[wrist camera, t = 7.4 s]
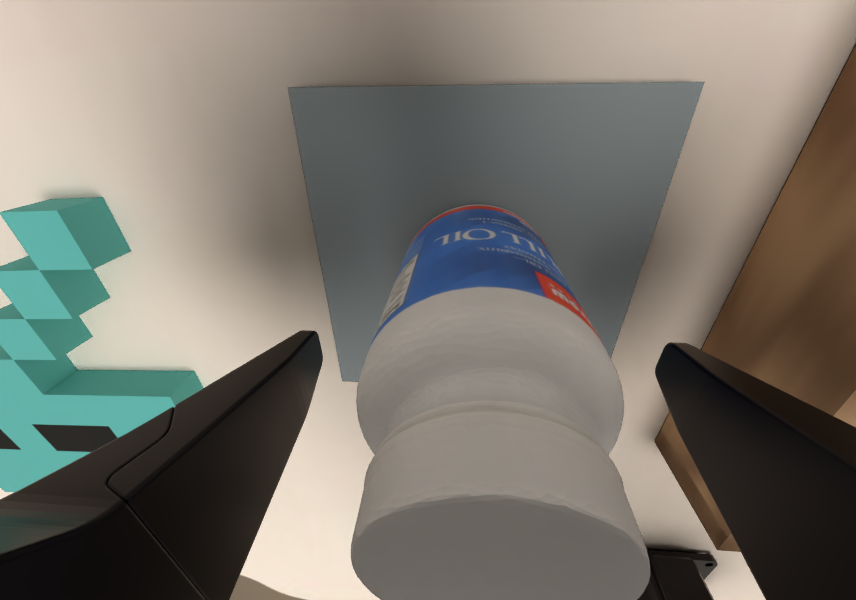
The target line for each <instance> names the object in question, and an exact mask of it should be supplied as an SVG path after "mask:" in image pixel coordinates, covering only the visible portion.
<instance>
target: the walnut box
mask: <svg viewBox="0 0 856 600" xmlns="http://www.w3.org/2000/svg"><path fill="white" fill-rule="evenodd" d="M702 351H704V352H706V353H708V354H710V355H712V356H714V357H716V358H718V359H720V360H722V361H724V362H726V363H728V364H730V365H732V366H734V367H736V368H738V369H740V370H742V371H744V372H746V373H748V374H750V375H752V376H754V377H756V378H758V379H760V380H762V381H764V382H766V383H768V384H770V385H772V386H774V387H776V388H778V389H780V390H782V391H784V392H786V393H788V394H790V395H792V396H794V397H796V398H798V399H800V400H802V401H804V402H806V403H808V404H810V405H812V406H814V407H816V408H818V409H820V410H822V411H824V412H826V413H828V414H830V415H832V416H834V417H836V418H838V419H840V420H842V421H844V422H846V423H848V424H850V425H852V426H854V427H856V45H855V47H854V49H853V51H852V53H851V55H850V57H849V59H848V61H847V63H846V65H845V67H844V69H843V71H842V73H841V75H840V77H839V79H838V81H837V83H836V85H835V87H834V89H833V91H832V93H831V95H830V97H829V99H828V101H827V103H826V105H825V107H824V109H823V111H822V113H821V114H820V116H819V118H818V120H817V122H816V124H815V126H814V128H813V130H812V132H811V134H810V136H809V138H808V140H807V142H806V144H805V146H804V148H803V150H802V152H801V154H800V156H799V158H798V160H797V162H796V164H795V166H794V168H793V170H792V172H791V174H790V176H789V178H788V180H787V182H786V184H785V186H784V188H783V190H782V192H781V193H780V195H779V197H778V199H777V201H776V203H775V205H774V207H773V209H772V211H771V213H770V215H769V217H768V219H767V221H766V223H765V225H764V227H763V229H762V231H761V233H760V235H759V237H758V239H757V241H756V243H755V245H754V247H753V249H752V251H751V253H750V255H749V257H748V259H747V261H746V263H745V265H744V267H743V269H742V271H741V272H740V274H739V276H738V278H737V280H736V282H735V284H734V286H733V288H732V290H731V292H730V294H729V296H728V298H727V300H726V302H725V304H724V306H723V308H722V310H721V312H720V314H719V316H718V318H717V320H716V322H715V324H714V326H713V328H712V330H711V332H710V334H709V336H708V338H707V340H706V342H705V344H704V346H703V348H702ZM655 443H656V445H657V447H658V449H659V450H660V452H661V454H662V456H663V457H664V459H665V461H666V462H667V464H668V466H669V468H670V469H671V471H672V473H673V475H674V476H675V478H676V480H677V481H678V483H679V485H680V487H681V488H682V490H683V492H684V494H685V495H686V497H687V499H688V500H689V502H690V504H691V506H692V507H693V509H694V511H695V513H696V514H697V516H698V518H699V520H700V521H701V523H702V525H703V526H704V528H705V530H706V532H707V533H708V535H709V537H710V539H711V540H712V542H713V544H714V545H715V547H716V549H717V550H723V551H737V552H741V551H740V549H739V547H738V545H737V544H736V542H735V540H734V538H733V536H732V534H731V532H730V530H729V528H728V526H727V524H726V523H725V521H724V519H723V517H722V515H721V513H720V511H719V509H718V507H717V505H716V504H715V502H714V500H713V498H712V496H711V494H710V492H709V490H708V488H707V486H706V484H705V483H704V481H703V479H702V477H701V475H700V473H699V471H698V469H697V467H696V465H695V463H694V462H693V460H692V458H691V456H690V454H689V452H688V450H687V448H686V446H685V444H684V443H683V441H682V439H681V437H680V434H679V432H678V430H677V428H676V426H675V423H674V421H673V418H672V416H671V413H669V415H668V417H667V419H666V421H665V423H664V425H663V427H662V429H661V430H660V432H659V434H658V436H657V438H656V440H655Z"/></svg>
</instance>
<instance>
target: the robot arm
mask: <svg viewBox="0 0 856 600" xmlns="http://www.w3.org/2000/svg"><path fill="white" fill-rule="evenodd" d="M322 361H323V355H322V350H321V345H320V341H319V336H318V334H317V332H315V331H305V330H302V331H299V332H298V333H296V334H294V335H292V336H291V337H289V338H287V339H286V340H284V341H282V342H281V343H279V344H277V345H276V346H274V347H272V348H271V349H269V350H267V351H266V352H264V353H262V354H260V355H259V356H257V357H255V358H254V359H252V360H250V361H249V362H247V363H245V364H244V365H242V366H240V367H239V368H237V369H235V370H233V371H232V372H230V373H228V374H227V375H225V376H223V377H222V378H220V379H218V380H217V381H215V382H213V383H212V384H210V385H208V386H207V387H205V388H203V389H201V390H200V391H198V392H196V393H195V394H193V395H191V396H190V397H188V398H186V399H185V400H183V401H181V402H180V403H178V404H176V405H175V408H174V407H171V408H169V409H168V410H166V411H164V412H163V413H161V414H159V415H158V416H156V417H154V418H152V419H151V420H149V421H147V422H145V423H144V424H142V425H140V426H139V427H137V428H135V429H133V430H132V431H130V432H128V433H126V434H124V435H123V436H121V437H119V438H117V439H115V440H113V441H111V442H109V443H108V444H106V445H104V446H102V447H100V448H98V449H96V450H95V451H93V452H91V453H89V454H87V455H85V456H83V457H81V458H79V459H77V460H76V461H74V462H72V463H70V464H68V465H66V466H64V467H62V468H60V469H58V470H56V471H55V472H53V473H51V474H49V475H47V476H45V477H43V478H41V479H39V480H37V481H36V482H34V483H32V484H30V485H28V486H26V487H24V488H22V489H20V490H18V491H16V492H15V493H12V494H10V495H8V496H6V497H4V498H2V499H0V600H229V599H230V597H231V594H232V592H233V589H234V587H235V585H236V582H237V580H238V578H239V575H240V573H241V570H242V568H243V566H244V563H245V561H246V559H247V556H248V554H249V551H250V549H251V547H252V544H253V542H254V540H255V537H256V535H257V532H258V530H259V528H260V525H261V523H262V521H263V518H264V516H265V513H266V511H267V509H268V506H269V504H270V502H271V499H272V497H273V494H274V492H275V490H276V487H277V485H278V482H279V480H280V478H281V475H282V473H283V471H284V468H285V466H286V463H287V461H288V459H289V456H290V454H291V452H292V449H293V447H294V444H295V442H296V440H297V437H298V435H299V433H300V430H301V428H302V425H303V423H304V421H305V418H306V415H307V413H308V410H309V407H310V403H311V400H312V397H313V393H314V390H315V386H316V383H317V379H318V376H319V372H320V369H321V366H322ZM655 374H656V378H657V381H658V383H659V386H660V388H661V391H662V393H663V396H664V398H665V401H666V403H667V406H668V408H669V411H670V413H671V416H672V418H673V421H674V423H675V426H676V428H677V430H678V432H679V434H680V437H681V439H682V441H683V443H684V444H685V446H686V448H687V450H688V452H689V454H690V456H691V458H692V460H693V462H694V463H695V465H696V467H697V469H698V471H699V473H700V475H701V477H702V479H703V481H704V483H705V484H706V486H707V488H708V490H709V492H710V494H711V496H712V498H713V500H714V502H715V504H716V505H717V507H718V509H719V511H720V513H721V515H722V517H723V519H724V521H725V523H726V524H727V526H728V528H729V530H730V532H731V534H732V536H733V538H734V540H735V542H736V544H737V545H738V547H739V549H740V551H741V553H742V555H743V557H744V559H745V561H746V563H747V565H748V566H749V568H750V570H751V572H752V574H753V576H754V578H755V580H756V582H757V584H758V585H759V587H760V589H761V591H762V593H763V595H764V597H765V599H766V600H856V427H854V426H852V425H850V424H848V423H846V422H844V421H842V420H840V419H838V418H836V417H834V416H832V415H830V414H828V413H826V412H824V411H822V410H820V409H818V408H816V407H814V406H812V405H810V404H808V403H806V402H804V401H802V400H800V399H798V398H796V397H794V396H792V395H790V394H788V393H786V392H784V391H782V390H780V389H778V388H776V387H774V386H772V385H770V384H768V383H766V382H764V381H762V380H760V379H758V378H756V377H754V376H752V375H750V374H748V373H746V372H744V371H742V370H740V369H738V368H736V367H734V366H732V365H730V364H728V363H726V362H724V361H722V360H720V359H718V358H716V357H714V356H712V355H710V354H708V353H706V352H704V351H702V350H700V349H698V348H696V347H694V346H692V345H690V344H687V343H668V344H667V345H666V346H665V347H664V349H663V352H662V354H661V356H660V359H659V361H658V363H657V366H656V369H655ZM647 553H648V557H649V561H650V579H649V583H648V585H647V587H646V589H645V591H644V592H643V594H642V595H641V596H640V597H639V598H638V599H637V600H714V599H713V597H712V595H711V593H710V591H709V589H708V587H707V585H706V583H705V581H704V579H705V578H706V577H707V576H708V575H709V574H710V573H711V571H712V570H713V569H714V568H715V567H716V566H717V562H716V560H715V558H714V557H713V555H710V554H697V553H683V552H669V551H655V550H647Z"/></svg>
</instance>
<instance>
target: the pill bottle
mask: <svg viewBox="0 0 856 600" xmlns="http://www.w3.org/2000/svg"><path fill="white" fill-rule="evenodd" d="M356 402H357V413H358V419H359V423H360V427H361V430H362V433H363V435H364V438H365V440H366V441H367V443H368V445H369V447H370V449H371V450H372V452H373V453H374V454H375V456H374V457H373V459H372V461H371V463H370V464H369V467H368V470H367V472H366V477H365V483H364V491H363V495H362V499H361V504H360V509H359V513H358V517H357V521H356V525H355V530H354V534H353V538H352V544H351V560H352V565H353V568H354V571H355V573H356V575H357V577H358V578H359V579H360V580H361V582H362V583H363V584H364V585H365V586H366V587H367V588H368V589H369V590H370V591H371V592H372V593H373V594H374V595H375V596H377V597H378V598H380V599H381V600H637V599H638V598H639V597H640V596H641V595H642V594H643V592H644V591H645V589H646V587H647V585H648V583H649V579H650V561H649V557H648V553H647V549H646V547H645V544H644V541H643V539H642V536H641V534H640V531H639V528H638V526H637V523H636V520H635V518H634V515H633V512H632V510H631V507H630V504H629V502H628V499H627V497H626V494H625V492H624V487H623V482H622V478H621V476H620V474H619V472H618V470H617V468H616V466H615V464H614V463H613V461H612V460H611V459H610V457H609V456H608V455H609V453H610V452H611V450H612V448H613V446H614V445H615V443H616V441H617V438H618V435H619V432H620V429H621V425H622V420H623V412H624V401H623V392H622V386H621V383H620V380H619V376H618V373H617V371H616V369H615V367H614V365H613V363H612V360H611V359H610V357H609V355H608V353H607V351H606V349H605V347H604V345H603V343H602V341H601V339H600V338H599V336H598V334H597V333H596V331H595V329H594V328H593V326H592V324H591V322H590V320H589V319H588V317H587V315H586V314H585V312H584V311H583V309H582V307H581V306H580V304H579V302H578V300H577V299H576V297H575V295H574V293H573V292H572V290H571V288H570V287H569V285H568V283H567V282H566V280H565V278H564V276H563V275H562V273H561V271H560V269H559V268H558V266H557V264H556V263H555V261H554V259H553V257H552V255H551V253H550V252H549V250H548V248H547V247H546V245H545V243H544V242H543V240H542V238H541V237H540V235H539V234H538V233H537V232H536V231H535V230H534V229H533V227H532V226H531V225H530V224H528V223H527V222H526V221H525V220H524V219H522V218H521V217H519V216H518V215H516V214H514V213H512V212H510V211H508V210H505V209H503V208H499V207H496V206H491V205H466V206H461V207H457V208H454V209H451V210H448V211H446V212H444V213H442V214H440V215H438V216H437V217H435V218H433V219H432V220H431V221H429V222H428V223H427V224H426V225H425V226H424V227H423V228H422V229H421V230H420V231H419V232H418V233H417V235H416V236H415V237H414V239H413V240H412V242H411V244H410V246H409V248H408V250H407V252H406V254H405V256H404V259H403V262H402V265H401V268H400V270H399V273H398V275H397V278H396V281H395V283H394V286H393V288H392V291H391V294H390V296H389V299H388V301H387V304H386V306H385V309H384V311H383V314H382V317H381V319H380V322H379V324H378V327H377V330H376V332H375V335H374V337H373V340H372V342H371V345H370V347H369V350H368V353H367V357H366V360H365V363H364V365H363V369H362V372H361V375H360V378H359V383H358V387H357V400H356Z"/></svg>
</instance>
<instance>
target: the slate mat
mask: <svg viewBox="0 0 856 600" xmlns="http://www.w3.org/2000/svg"><path fill="white" fill-rule="evenodd" d="M703 85H704V82H650V83H576V84H503V85H429V86H355V87H288V92H289V97H290V102H291V108H292V113H293V119H294V124H295V129H296V135H297V140H298V145H299V151H300V156H301V162H302V167H303V172H304V178H305V183H306V188H307V194H308V199H309V205H310V210H311V215H312V221H313V226H314V231H315V237H316V242H317V248H318V253H319V258H320V264H321V269H322V275H323V280H324V285H325V291H326V296H327V301H328V307H329V312H330V318H331V323H332V328H333V334H334V339H335V344H336V350H337V355H338V361H339V366H340V371H341V377H342V381H352V382H359V378H360V375H361V372H362V369H363V365H364V363H365V360H366V357H367V353H368V350H369V347H370V345H371V342H372V340H373V337H374V335H375V332H376V330H377V327H378V324H379V322H380V319H381V317H382V314H383V311H384V309H385V306H386V304H387V301H388V299H389V296H390V294H391V291H392V288H393V286H394V283H395V281H396V278H397V275H398V273H399V270H400V268H401V265H402V262H403V259H404V256H405V254H406V252H407V250H408V248H409V246H410V244H411V242H412V240H413V239H414V237H415V236H416V235H417V233H418V232H419V231H420V230H421V229H422V228H423V227H424V226H425V225H426V224H427V223H428V222H429V221H431V220H432V219H433V218H435V217H437V216H438V215H440V214H442V213H444V212H446V211H448V210H451V209H454V208H457V207H461V206H466V205H491V206H496V207H499V208H503V209H505V210H508V211H510V212H512V213H514V214H516V215H518V216H519V217H521V218H522V219H524V220H525V221H526V222H527V223H528V224H530V225H531V226H532V227H533V229H534V230H535V231H536V232H537V233H538V234H539V235H540V237H541V238H542V240H543V242H544V243H545V245H546V247H547V248H548V250H549V252H550V253H551V255H552V257H553V259H554V261H555V263H556V264H557V266H558V268H559V269H560V271H561V273H562V275H563V276H564V278H565V280H566V282H567V283H568V285H569V287H570V288H571V290H572V292H573V293H574V295H575V297H576V299H577V300H578V302H579V304H580V306H581V307H582V309H583V311H584V312H585V314H586V315H587V317H588V319H589V320H590V322H591V324H592V326H593V328H594V329H595V331H596V333H597V334H598V336H599V338H600V339H601V341H602V343H603V345H604V347H605V349H606V351H607V353H608V355H609V357H610V359H611V356H612V353H613V350H614V347H615V344H616V341H617V338H618V335H619V332H620V329H621V326H622V323H623V320H624V317H625V314H626V312H627V309H628V306H629V303H630V300H631V297H632V294H633V291H634V288H635V285H636V282H637V279H638V276H639V273H640V270H641V267H642V264H643V261H644V259H645V256H646V253H647V250H648V247H649V244H650V241H651V238H652V235H653V232H654V229H655V226H656V223H657V220H658V217H659V214H660V211H661V208H662V206H663V203H664V200H665V197H666V194H667V191H668V188H669V185H670V182H671V179H672V176H673V173H674V170H675V167H676V164H677V161H678V158H679V155H680V153H681V150H682V147H683V144H684V141H685V138H686V135H687V132H688V129H689V126H690V123H691V120H692V117H693V114H694V111H695V108H696V105H697V102H698V100H699V97H700V94H701V91H702V88H703Z"/></svg>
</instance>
